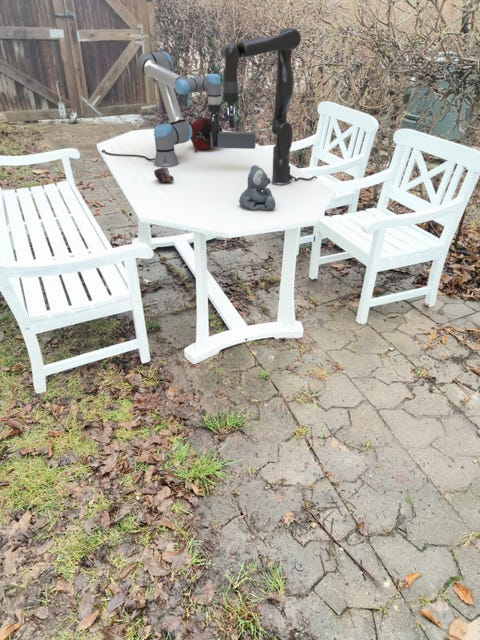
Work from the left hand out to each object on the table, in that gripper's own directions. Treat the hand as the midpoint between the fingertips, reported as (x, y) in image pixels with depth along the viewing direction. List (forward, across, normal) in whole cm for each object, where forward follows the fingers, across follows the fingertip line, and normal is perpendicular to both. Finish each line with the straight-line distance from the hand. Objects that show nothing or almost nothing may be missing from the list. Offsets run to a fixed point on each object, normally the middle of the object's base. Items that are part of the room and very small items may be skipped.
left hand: (216, 145), depth 276 cm
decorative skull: (+14, +50, +17) cm, 54 cm away
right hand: (-19, -38, -16) cm, 45 cm away
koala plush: (+14, -63, -33) cm, 72 cm away
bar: (+1, 0, -11) cm, 11 cm away
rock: (+14, -30, +26) cm, 42 cm away
